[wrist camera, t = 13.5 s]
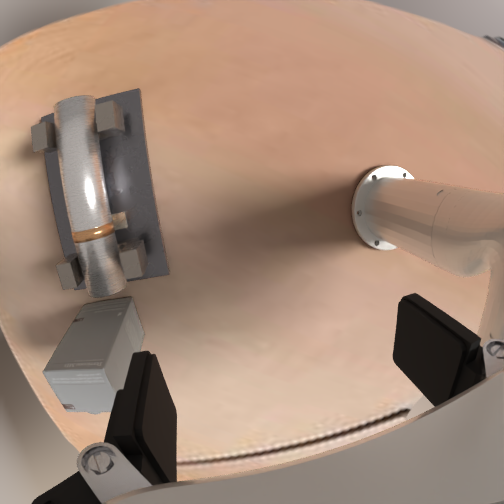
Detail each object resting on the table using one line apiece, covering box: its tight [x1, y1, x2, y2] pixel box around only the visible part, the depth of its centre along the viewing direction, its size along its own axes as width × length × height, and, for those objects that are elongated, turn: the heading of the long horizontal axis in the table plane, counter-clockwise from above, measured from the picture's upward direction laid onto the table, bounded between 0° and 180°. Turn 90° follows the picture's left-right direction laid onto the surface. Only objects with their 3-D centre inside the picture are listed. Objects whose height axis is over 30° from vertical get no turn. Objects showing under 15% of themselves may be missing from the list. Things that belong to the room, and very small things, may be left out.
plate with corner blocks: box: [31, 88, 170, 290], centre depth 32 cm, size 14×24×8 cm, turn 7°
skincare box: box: [43, 297, 145, 414], centre depth 33 cm, size 8×7×16 cm
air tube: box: [54, 95, 127, 298], centre depth 31 cm, size 22×5×5 cm, turn 7°
